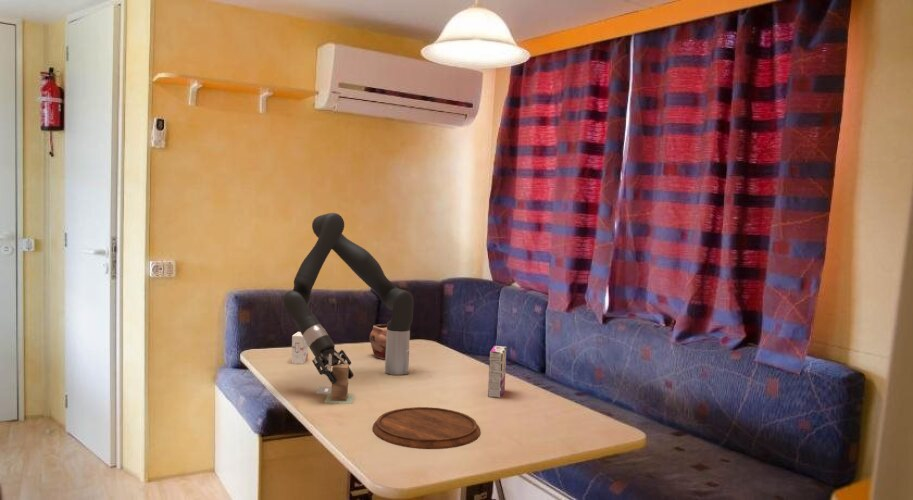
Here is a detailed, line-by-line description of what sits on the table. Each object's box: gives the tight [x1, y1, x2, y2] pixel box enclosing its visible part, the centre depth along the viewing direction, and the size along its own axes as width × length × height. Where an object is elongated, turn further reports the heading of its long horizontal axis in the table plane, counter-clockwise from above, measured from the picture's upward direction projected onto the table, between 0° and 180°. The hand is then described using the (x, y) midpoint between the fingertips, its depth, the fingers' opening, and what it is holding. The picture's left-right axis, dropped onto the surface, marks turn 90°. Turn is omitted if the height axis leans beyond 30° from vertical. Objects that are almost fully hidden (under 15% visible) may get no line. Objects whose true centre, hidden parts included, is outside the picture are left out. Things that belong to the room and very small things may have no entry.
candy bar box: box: [487, 345, 507, 399], centre depth 235 cm, size 11×5×16 cm, turn 168°
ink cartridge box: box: [291, 331, 309, 365], centre depth 269 cm, size 9×5×15 cm, turn 179°
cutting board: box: [372, 406, 481, 450], centre depth 193 cm, size 32×32×2 cm
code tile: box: [316, 385, 332, 395], centre depth 228 cm, size 9×9×1 cm
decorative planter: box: [369, 324, 387, 360], centre depth 286 cm, size 20×12×14 cm, turn 36°
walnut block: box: [330, 364, 350, 401], centre depth 218 cm, size 5×5×11 cm
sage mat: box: [324, 394, 355, 404], centre depth 218 cm, size 9×9×1 cm
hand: (343, 379), depth 217 cm, fingers open, 8 cm apart
